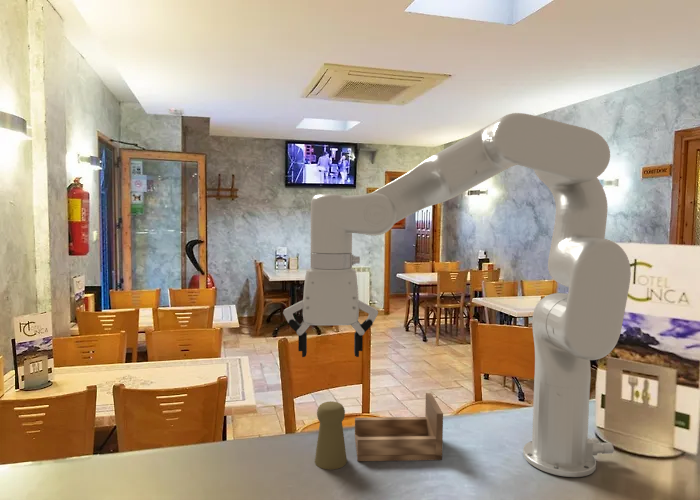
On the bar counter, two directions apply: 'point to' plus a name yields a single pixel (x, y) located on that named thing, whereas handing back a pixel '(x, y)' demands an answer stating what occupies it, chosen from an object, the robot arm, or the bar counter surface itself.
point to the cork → (330, 436)
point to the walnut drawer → (401, 436)
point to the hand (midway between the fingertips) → (330, 354)
